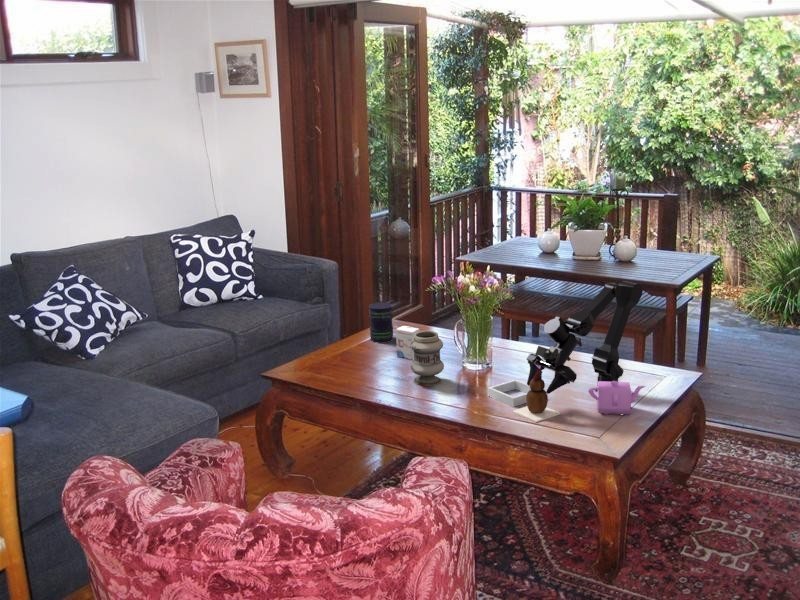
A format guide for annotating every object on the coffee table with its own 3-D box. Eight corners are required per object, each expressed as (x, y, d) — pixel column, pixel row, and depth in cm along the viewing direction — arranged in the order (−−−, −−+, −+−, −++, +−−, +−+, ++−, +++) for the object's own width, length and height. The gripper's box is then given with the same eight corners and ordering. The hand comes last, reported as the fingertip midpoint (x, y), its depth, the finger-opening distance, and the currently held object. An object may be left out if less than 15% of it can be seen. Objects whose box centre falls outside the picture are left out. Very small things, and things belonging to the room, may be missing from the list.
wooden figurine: (541, 407, 284) (541, 364, 280) (550, 413, 279) (551, 369, 275) (523, 410, 282) (523, 367, 278) (532, 416, 277) (532, 372, 273)
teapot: (642, 404, 285) (643, 375, 283) (646, 421, 272) (648, 390, 270) (586, 402, 288) (587, 374, 286) (588, 418, 275) (589, 389, 273)
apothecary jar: (405, 384, 310) (404, 336, 305) (419, 373, 320) (418, 327, 316) (436, 388, 305) (435, 340, 300) (449, 377, 315) (448, 331, 311)
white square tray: (541, 397, 294) (541, 389, 293) (513, 406, 286) (513, 398, 286) (515, 387, 304) (515, 379, 303) (487, 395, 297) (487, 387, 296)
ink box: (395, 356, 341) (395, 328, 338) (403, 353, 344) (402, 325, 341) (413, 360, 336) (413, 331, 333) (420, 356, 340) (420, 328, 337)
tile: (560, 414, 279) (560, 412, 279) (536, 422, 273) (536, 421, 273) (536, 404, 288) (536, 402, 288) (512, 412, 282) (512, 410, 282)
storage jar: (365, 340, 363) (364, 306, 359) (380, 334, 370) (379, 301, 366) (383, 344, 357) (381, 309, 353) (398, 338, 364) (397, 304, 360)
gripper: (530, 330, 285) (505, 368, 282) (570, 343, 270) (544, 384, 267) (548, 348, 291) (523, 385, 288) (588, 362, 276) (562, 402, 273)
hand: (537, 389), depth 279 cm, fingers open, 9 cm apart
